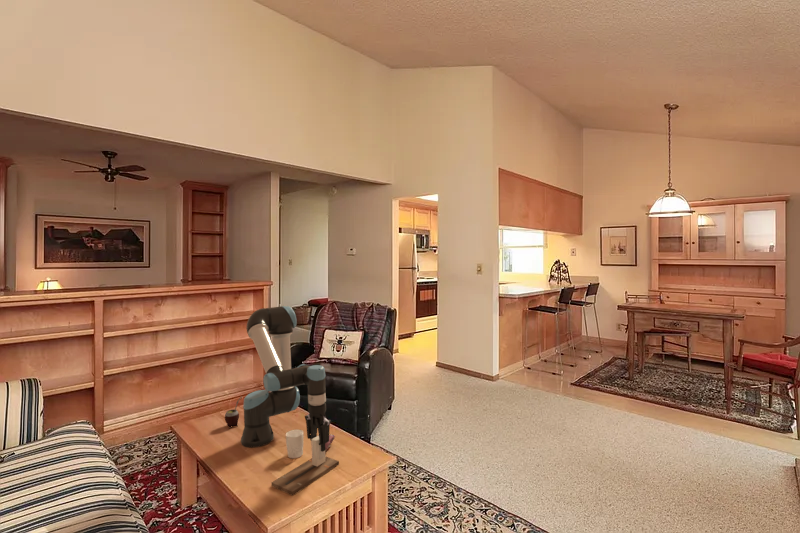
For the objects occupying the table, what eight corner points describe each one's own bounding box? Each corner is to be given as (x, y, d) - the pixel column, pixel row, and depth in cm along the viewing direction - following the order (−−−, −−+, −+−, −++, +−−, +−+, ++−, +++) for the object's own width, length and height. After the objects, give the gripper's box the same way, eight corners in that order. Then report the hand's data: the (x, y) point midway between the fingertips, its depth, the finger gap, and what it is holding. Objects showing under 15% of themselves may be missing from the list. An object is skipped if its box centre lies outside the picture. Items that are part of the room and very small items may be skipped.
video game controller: (324, 456, 184) (330, 443, 183) (316, 451, 185) (322, 438, 184) (332, 446, 194) (337, 434, 193) (323, 441, 194) (329, 429, 193)
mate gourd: (222, 428, 213) (221, 400, 212) (231, 422, 221) (230, 395, 220) (234, 429, 211) (233, 401, 211) (243, 423, 219) (242, 395, 218)
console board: (271, 486, 159) (271, 482, 159) (319, 457, 181) (318, 453, 181) (292, 495, 152) (292, 491, 152) (339, 464, 174) (338, 460, 174)
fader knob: (312, 464, 171) (311, 439, 171) (320, 459, 175) (319, 434, 175) (317, 466, 169) (316, 440, 169) (325, 461, 173) (324, 436, 173)
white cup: (307, 451, 186) (306, 430, 185) (297, 460, 178) (297, 438, 178) (292, 449, 188) (292, 428, 188) (282, 457, 181) (282, 435, 181)
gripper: (297, 401, 173) (298, 455, 173) (324, 409, 164) (326, 466, 164) (310, 396, 179) (311, 448, 180) (337, 403, 170) (338, 457, 171)
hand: (318, 456), depth 172 cm, fingers closed on fader knob, 3 cm apart
